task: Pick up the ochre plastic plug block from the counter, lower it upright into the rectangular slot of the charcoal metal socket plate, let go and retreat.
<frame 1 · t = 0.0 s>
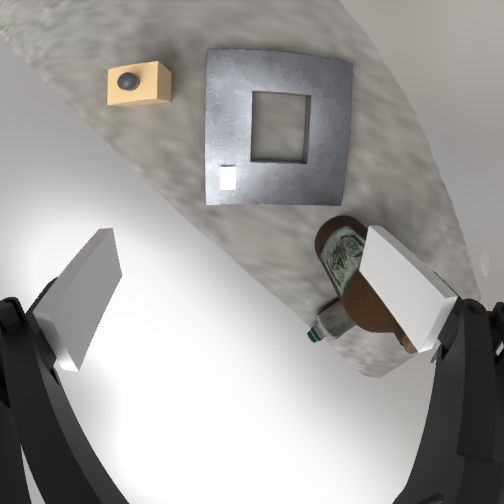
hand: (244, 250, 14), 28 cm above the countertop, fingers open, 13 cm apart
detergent: (355, 289, 52), on the countertop
socket plate: (277, 126, 36), on the countertop
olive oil: (339, 239, 46), on the countertop
plug: (151, 89, 32), on the countertop
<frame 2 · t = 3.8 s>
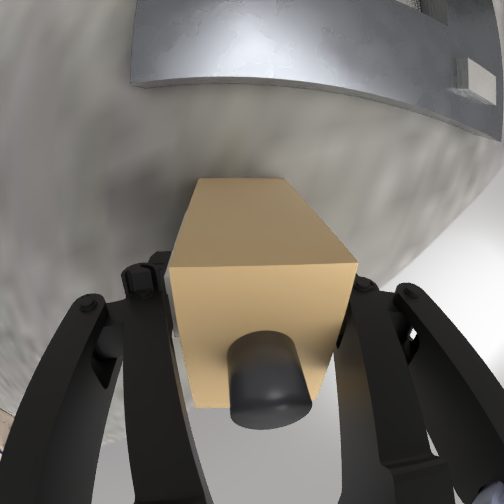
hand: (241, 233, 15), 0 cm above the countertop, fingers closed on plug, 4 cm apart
plug: (240, 230, 16), on the countertop, touching gripper
teacup with lid: (13, 419, 27), on the countertop
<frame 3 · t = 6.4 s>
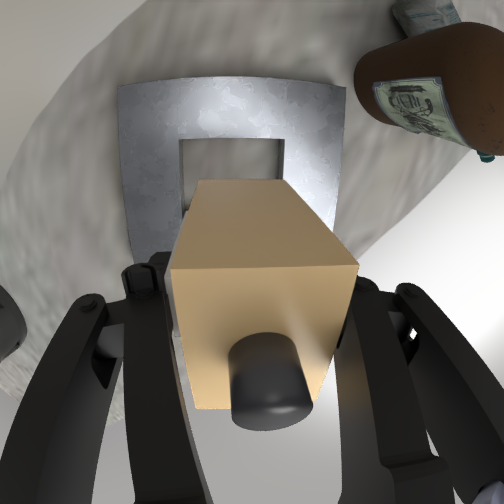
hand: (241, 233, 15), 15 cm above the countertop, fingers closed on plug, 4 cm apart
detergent: (443, 75, 24), on the countertop
socket plate: (230, 173, 28), on the countertop
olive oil: (386, 86, 25), on the countertop
plug: (241, 231, 16), point 15 cm above the countertop, touching gripper
when the fingers open (2 cm above the countertop, at t = 8.6 s): plug drops 2 cm, resting in socket plate.
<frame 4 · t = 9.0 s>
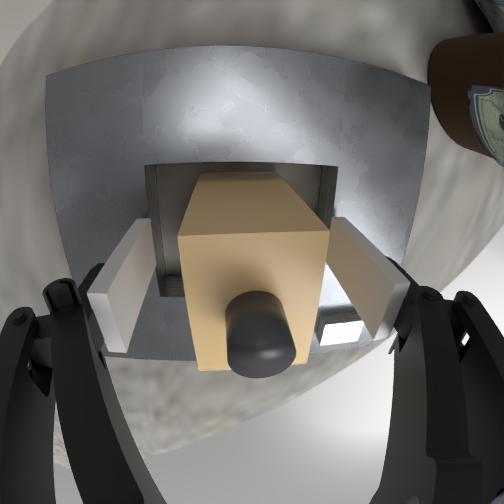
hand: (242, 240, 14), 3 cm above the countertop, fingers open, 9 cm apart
socket plate: (239, 219, 17), on the countertop
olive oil: (463, 93, 14), on the countertop
plug: (238, 219, 17), resting in socket plate
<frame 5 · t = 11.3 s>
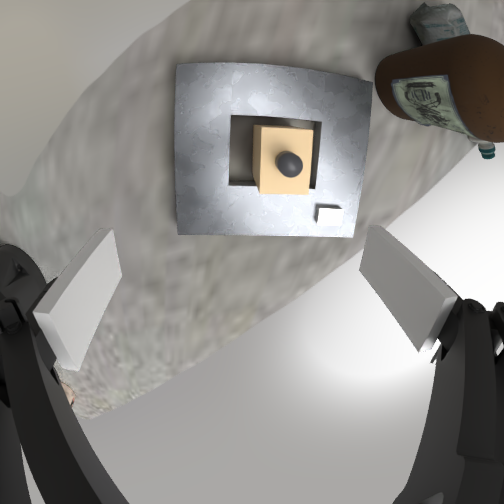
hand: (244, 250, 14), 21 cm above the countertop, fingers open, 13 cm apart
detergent: (451, 80, 27), on the countertop, touching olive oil
socket plate: (272, 149, 31), on the countertop
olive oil: (402, 86, 28), on the countertop, touching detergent
plug: (271, 149, 31), resting in socket plate
teacup with lid: (64, 387, 52), on the countertop
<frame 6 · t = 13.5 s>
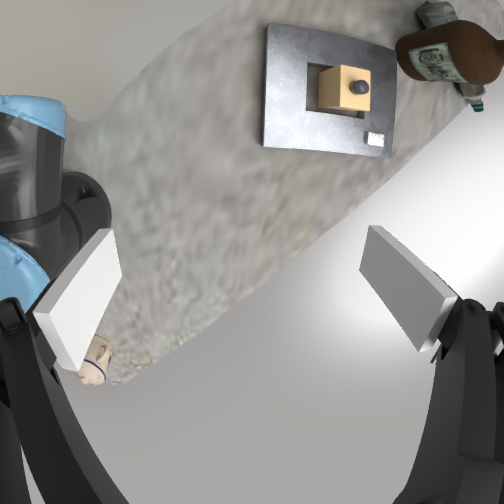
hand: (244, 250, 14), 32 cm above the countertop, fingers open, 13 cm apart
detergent: (447, 56, 34), on the countertop
socket plate: (331, 91, 38), on the countertop
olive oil: (413, 58, 34), on the countertop
plug: (331, 91, 38), resting in socket plate
teacup with lid: (100, 343, 57), on the countertop
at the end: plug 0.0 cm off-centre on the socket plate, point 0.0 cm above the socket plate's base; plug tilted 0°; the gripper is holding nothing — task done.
